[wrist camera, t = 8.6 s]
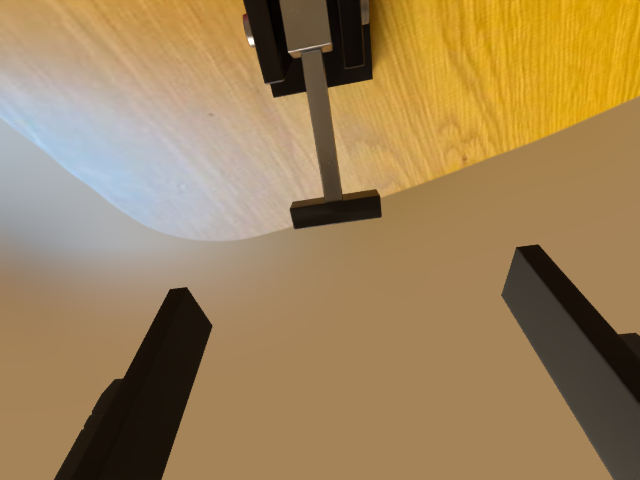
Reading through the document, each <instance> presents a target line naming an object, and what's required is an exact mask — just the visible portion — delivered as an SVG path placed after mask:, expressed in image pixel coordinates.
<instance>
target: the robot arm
mask: <svg viewBox="0 0 640 480" xmlns="http://www.w3.org/2000/svg"><path fill="white" fill-rule="evenodd" d="M501 296H502V297H503V299H504V300H505V302H506V304H507V306H508V307H509V309H510V310H511V312H512V314H513V315H514V317H515V319H516V320H517V322H518V324H519V325H520V327H521V328H522V330H523V332H524V333H525V335H526V337H527V338H528V340H529V342H530V343H531V345H532V347H533V348H534V350H535V352H536V353H537V355H538V356H539V358H540V360H541V361H542V363H543V365H544V366H545V368H546V370H547V371H548V373H549V375H550V376H551V378H552V379H553V381H554V383H555V384H556V386H557V388H558V389H559V391H560V393H561V394H562V396H563V397H564V399H565V401H566V402H567V404H568V406H569V407H570V409H571V411H572V412H573V414H574V415H575V417H576V419H577V421H578V422H579V424H580V425H581V427H582V428H583V430H584V432H585V434H586V435H587V437H588V438H589V440H590V442H591V444H592V445H593V447H594V448H595V450H596V452H597V453H598V455H599V457H600V458H601V460H602V462H603V463H604V465H605V467H606V468H607V470H608V471H609V473H610V475H611V476H612V478H613V480H640V336H639V335H638V334H636V333H629V334H617V333H616V332H615V330H614V329H613V328H612V327H611V326H610V325H609V324H608V323H607V321H606V320H605V319H604V318H603V317H602V316H601V315H600V314H599V313H598V311H597V310H596V309H595V308H594V307H593V306H592V305H591V303H590V302H589V301H588V300H587V299H586V298H585V297H584V295H582V293H581V292H580V291H579V290H578V289H577V288H576V286H575V285H574V284H573V283H572V282H571V281H570V280H569V279H568V278H567V276H566V275H565V274H564V273H563V272H562V271H561V270H560V269H559V267H558V266H557V265H556V264H555V263H554V262H553V261H552V259H551V258H550V257H549V256H548V255H547V254H546V253H545V252H544V250H543V249H542V248H541V247H540V246H539V245H530V246H522V247H516V250H515V254H514V257H513V260H512V263H511V267H510V270H509V273H508V276H507V279H506V282H505V285H504V289H503V292H502V295H501ZM211 329H212V324H211V323H210V321H209V320H208V318H207V317H206V316H205V314H204V312H203V311H202V309H201V308H200V306H199V305H198V303H197V302H196V301H195V299H194V297H193V296H192V294H191V293H190V291H189V290H188V288H187V287H185V288H177V289H170V290H169V292H168V294H167V296H166V298H165V300H164V302H163V304H162V306H161V307H160V309H159V311H158V313H157V315H156V317H155V319H154V321H153V323H152V325H151V326H150V329H149V331H148V332H147V334H146V337H145V338H144V340H143V342H142V344H141V346H140V348H139V349H138V351H137V353H136V355H135V357H134V359H133V361H132V363H131V365H130V367H129V369H128V371H127V372H126V375H125V376H124V378H123V379H115V380H114V381H113V382H112V383H111V384H110V385H109V386H108V388H107V389H106V390H105V391H104V392H103V393H102V395H101V396H100V398H99V400H98V401H97V403H96V405H95V407H94V409H93V410H92V415H90V416H89V418H88V419H87V421H86V423H85V425H84V429H83V430H81V432H80V434H79V436H78V437H77V439H76V441H75V443H74V445H73V446H72V448H71V450H70V452H69V453H68V455H67V457H66V459H65V461H64V463H63V464H62V466H61V468H60V470H59V471H58V473H57V475H56V477H55V479H54V480H161V479H162V476H163V473H164V470H165V467H166V464H167V461H168V458H169V455H170V452H171V449H172V446H173V443H174V440H175V437H176V434H177V431H178V428H179V425H180V422H181V419H182V416H183V413H184V410H185V407H186V404H187V401H188V398H189V395H190V392H191V389H192V386H193V383H194V380H195V377H196V374H197V371H198V368H199V365H200V362H201V359H202V356H203V353H204V350H205V347H206V344H207V341H208V338H209V335H210V332H211Z"/></svg>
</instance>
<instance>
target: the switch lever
mask: <svg viewBox="0 0 640 480" xmlns="http://www.w3.org/2000/svg"><path fill="white" fill-rule="evenodd" d="M278 3H279V9H280V14H281V20H282V25H283V31H284V36H285V41H286V47H287V51H288V53H289V54H290V55H291V56H292V57H293V58H299V57H301V61H302V67H303V73H304V79H305V85H306V91H307V97H308V103H309V109H310V115H311V121H312V127H313V133H314V139H315V145H316V151H317V157H318V163H319V169H320V175H321V181H322V187H323V193H324V197H322V198H315V199H308V200H302V201H295V202H292V205H291V207H290V213H291V217H292V222H293V227H294V229H302V228H309V227H317V226H324V225H330V224H338V223H345V222H352V221H359V220H366V219H373V218H380V217H381V216H382V213H381V202H380V195H379V193H378V191H377V190H376V189H375V190H368V191H361V192H355V193H348V194H342V188H341V181H340V174H339V167H338V160H337V152H336V145H335V138H334V131H333V124H332V117H331V110H330V102H329V95H328V88H327V81H326V74H325V67H324V59H323V53H324V52H329V51H332V45H333V41H332V33H331V25H330V17H329V9H328V1H327V0H278Z"/></svg>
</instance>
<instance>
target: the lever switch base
mask: <svg viewBox="0 0 640 480" xmlns="http://www.w3.org/2000/svg"><path fill="white" fill-rule="evenodd" d="M243 1H244V5H245V9H246V13H247V14H244V15H243V24H244V29H245V33H246V36H247V39H248V42H249V44H250V46H251V47H255V48H256V52H257V56H258V60H259V63H260V67H261V71H262V75H263V79H264V83H265V84H270V85H271V89H272V93H273V97H274V98H275V97H281V96H286V95H291V94H297V93H302V92H307V91H306V85H305V79H304V73H303V67H302V61H301V57H299V58H293V57H292V56H291V55H290V54H289V53H288V51H287V47H286V41H285V36H284V31H283V25H282V20H281V14H280V9H279V3H278V0H243ZM327 1H328V9H329V17H330V25H331V33H332V41H333V45H332V51H329V52H324V53H323V59H324V67H325V74H326V81H327V88H328V87H334V86H339V85H344V84H350V83H355V82H360V81H365V80H371V79H373V76H372V57H371V39H370V21H369V17H370V10H369V0H327Z"/></svg>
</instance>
